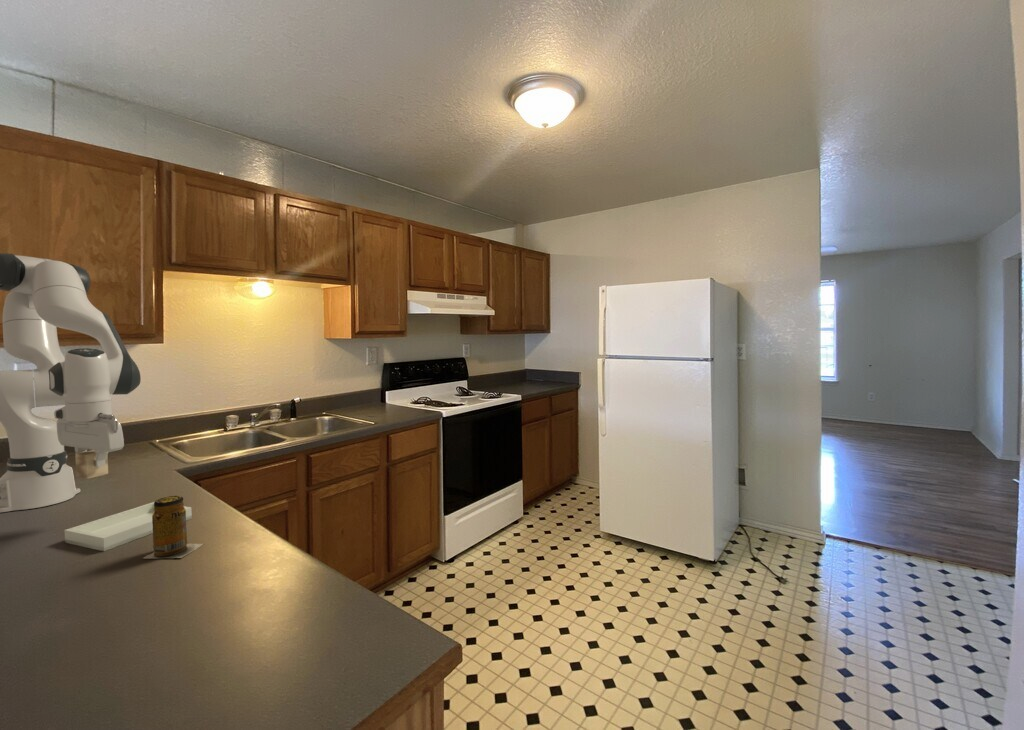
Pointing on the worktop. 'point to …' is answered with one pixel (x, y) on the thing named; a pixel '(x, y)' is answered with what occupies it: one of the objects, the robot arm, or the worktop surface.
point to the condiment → (170, 529)
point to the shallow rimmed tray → (115, 528)
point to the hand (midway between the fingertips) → (92, 465)
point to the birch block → (89, 465)
